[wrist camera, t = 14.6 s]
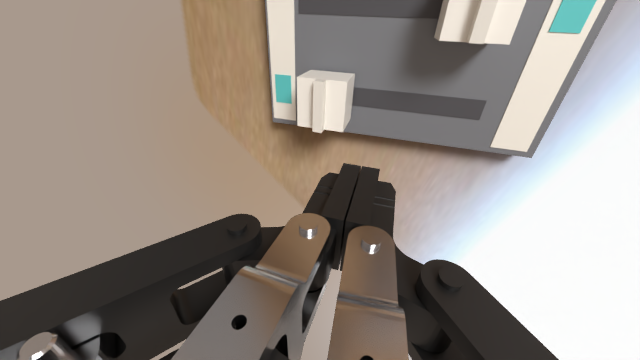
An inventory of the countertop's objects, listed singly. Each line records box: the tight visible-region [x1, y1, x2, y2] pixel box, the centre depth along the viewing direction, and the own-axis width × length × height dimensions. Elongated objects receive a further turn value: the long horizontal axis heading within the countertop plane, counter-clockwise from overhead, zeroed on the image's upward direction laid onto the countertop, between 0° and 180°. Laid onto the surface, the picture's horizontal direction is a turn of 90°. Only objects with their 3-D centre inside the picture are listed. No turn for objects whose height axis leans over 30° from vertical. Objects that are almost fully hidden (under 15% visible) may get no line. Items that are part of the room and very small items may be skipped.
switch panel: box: [265, 0, 617, 158], centre depth 21 cm, size 14×24×2 cm, turn 88°
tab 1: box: [297, 70, 355, 133], centre depth 22 cm, size 4×4×4 cm
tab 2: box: [434, 0, 526, 45], centre depth 16 cm, size 4×4×4 cm
